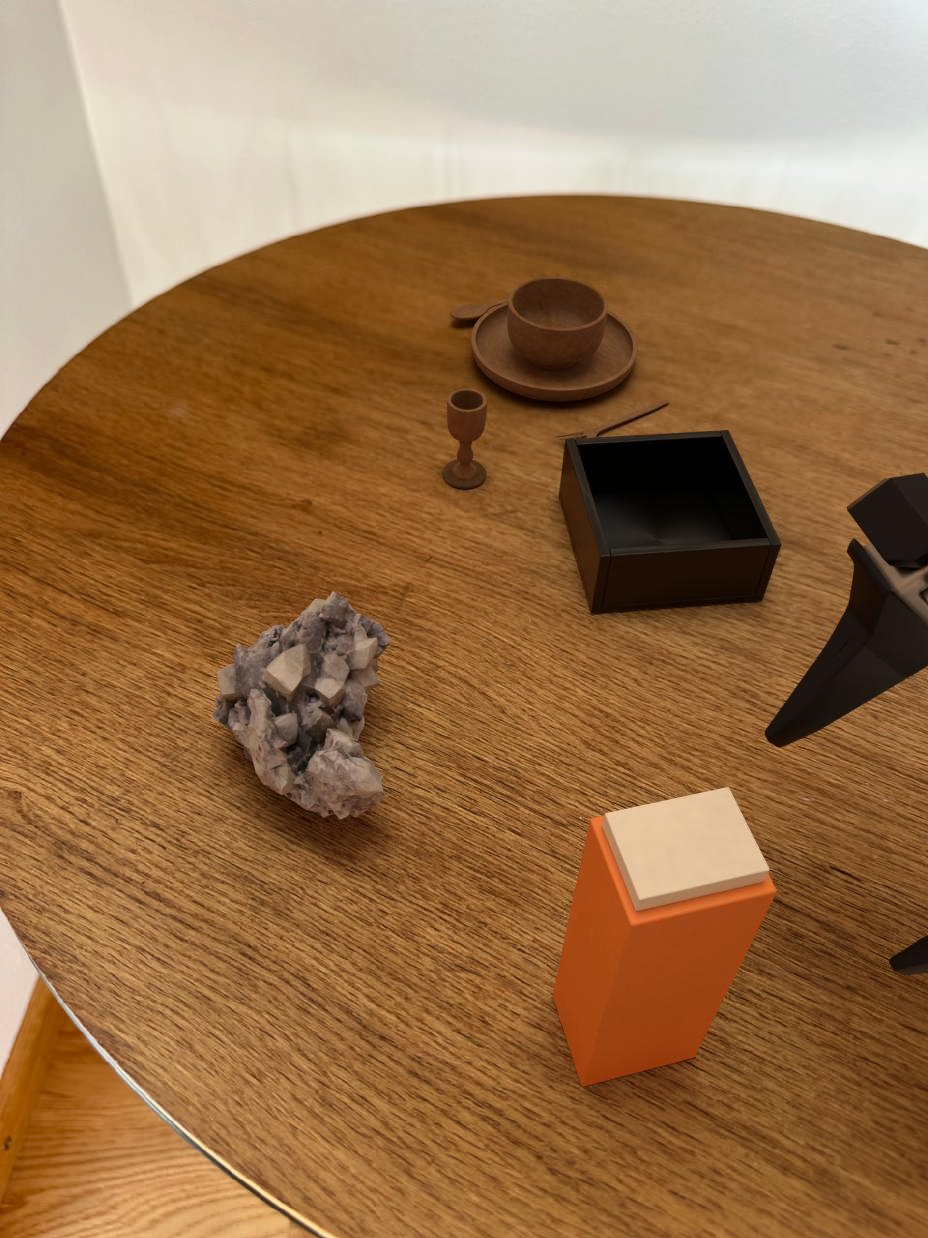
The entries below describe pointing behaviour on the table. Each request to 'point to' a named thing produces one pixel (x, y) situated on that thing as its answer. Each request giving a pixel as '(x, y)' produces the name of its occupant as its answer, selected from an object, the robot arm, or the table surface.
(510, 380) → the place setting
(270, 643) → the mineral specimen
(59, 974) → the table surface
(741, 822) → the block
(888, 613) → the robot arm
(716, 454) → the open black square box
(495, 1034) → the table surface
